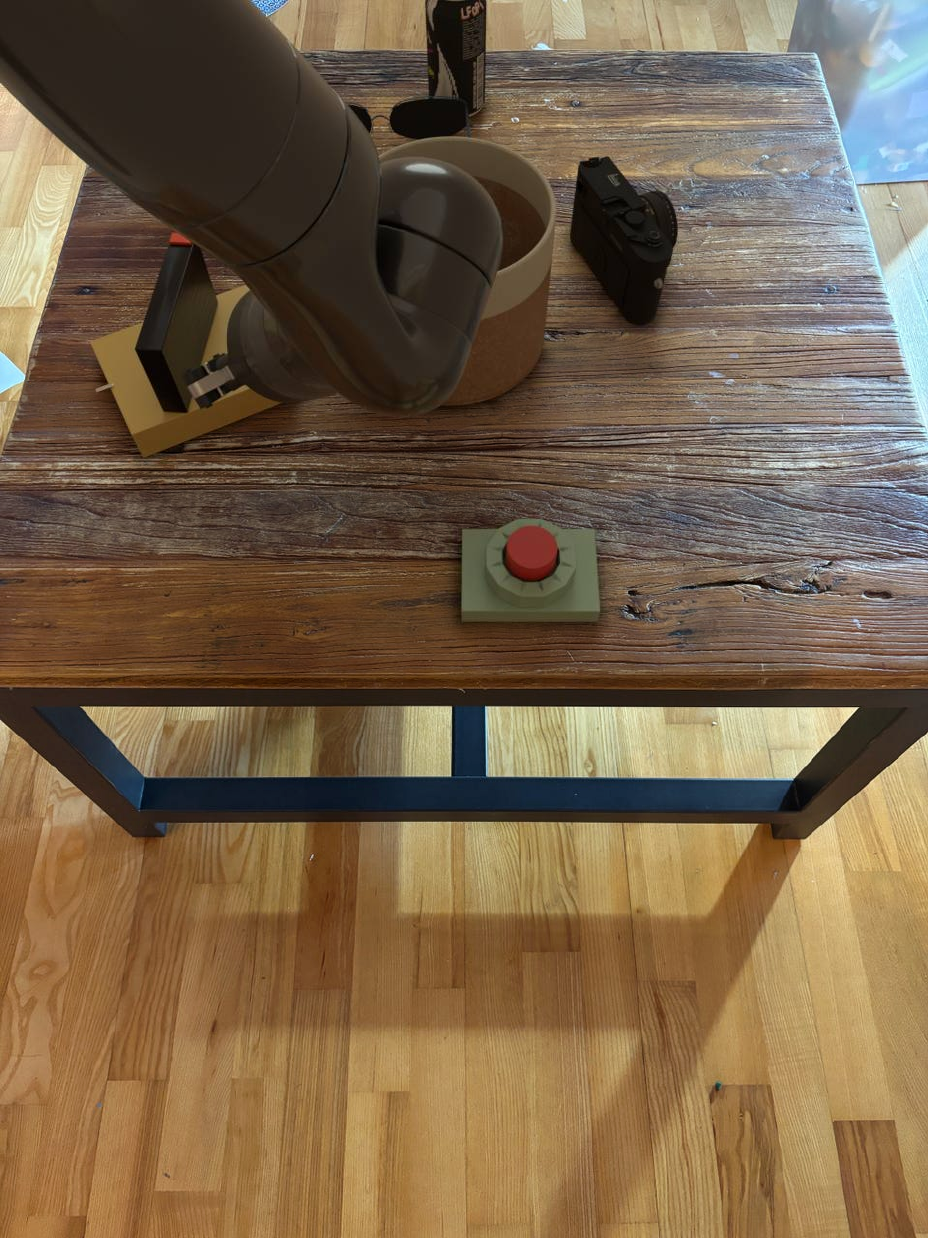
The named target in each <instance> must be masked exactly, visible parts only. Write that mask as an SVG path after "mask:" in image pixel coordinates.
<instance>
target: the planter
mask: <svg viewBox="0 0 928 1238" xmlns="http://www.w3.org/2000/svg"><path fill="white" fill-rule="evenodd" d="M378 156H379V161H380V163H381V162H384V161H387V160H391V159H394V158H400V157H429V158H435V159H439V160H443V161H446V162H449V163H451V164H454V165H456V166H457V167H459V168H461V169H463V170H464V171H466V172H467V173H469V174H470V175H471V176H473V177H474V178H475V179H476V180H477V181H478V182H479V183H480V184H481V185H482V186H483V187H484V188H485V189H486V191H487V192H488V193H489V195H490V196H491V198H492V199H493V201H494V203H495V205H496V207H497V210H498V212H499V215H500V218H501V222H502V228H503V251H502V256H501V261H500V265H499V268H498V271H497V274H496V277H495V280H494V283H493V286H492V289H491V290H490V295H489V298H488V301H487V304H486V307H485V310H484V312H483V315H482V318H481V321H480V324H479V327H478V330H477V333H476V336H475V339H474V342H473V344H472V347H471V352H470V355H469V358H468V361H467V364H466V367H465V370H464V373H463V375H462V377H461V380H460V382H459V384H458V385H457V387H456V389H455V391H454V392H453V394H452V395H451V396H450V397H449V398H448V399H447V400H446V401H445V402H444V403H443V404H441V405H440V406H466V405H471V404H472V405H473V404H477V403H481V402H485V401H489V400H492V399H494V398H496V397H498V396H501V395H503V394H505V393H507V392H508V391H510V390H512V389H513V388H515V387H516V386H517V385H519V384H520V383H521V382H522V381H523V380H524V379H525V378H526V377H527V376H528V375H529V374H530V373H531V371H533V369H534V368H535V366H536V365H537V363H538V361H539V359H540V357H541V354H542V352H543V349H544V344H545V335H546V325H547V313H548V305H549V294H550V285H551V284H550V283H551V275H552V264H553V263H552V262H553V255H554V254H553V253H554V242H555V231H556V221H557V202H556V196H555V193H554V191H553V188H552V186H551V184H550V182H549V180H548V178H547V177H546V176H545V174H544V173H543V172H542V171H541V170H540V169H539V168H538V167H537V166H536V165H535V164H534V163H533V162H531V160H529V159H528V158H527V157H525V156H523V155H521V154H520V153H518V152H517V151H515V150H513V149H511V148H509V147H506V146H504V145H501V144H499V143H496V142H493V141H489V140H486V139H481V138H476V137H475V138H474V137H471V138H468V137H467V136H449V137H434V138H427V139H421V140H418V139H416V140H413V141H410V142H406V143H403V144H399V145H398V146H395V147H393V148H390V149H389V150H387V151H384V152H383V153H381V154H378Z"/></svg>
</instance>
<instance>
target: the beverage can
mask: <svg viewBox="0 0 928 1238" xmlns="http://www.w3.org/2000/svg"><path fill="white" fill-rule="evenodd" d="M487 6H488V5H487V0H425V1H424V9H425V10H424V11H425V12H424V13H425V34H426V35H425V36H426V62H427V84H428V85H427V86H428V96H447V97H455V98H459V99H461V100H463V101H465V102H466V103H467V104H465V105H466V106H467V107H468V109H469V118H470V117H473V116H475V115H477V113H479V112H481V110H482V109H483V108H484V105H485V103H486V71H487V68H486V67H487V66H486V65H487V58H486V57H487ZM433 98H443V97H431V98H428V99H433ZM443 99H452V98H443ZM454 100H456V99H454ZM458 101H459V100H458Z"/></svg>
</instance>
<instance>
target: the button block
mask: <svg viewBox="0 0 928 1238" xmlns="http://www.w3.org/2000/svg"><path fill="white" fill-rule="evenodd" d="M524 526H539V527H542V528H544V529H546V530H548V531H549V532H550V533H551V534H552V535H553V536H554V538H555V540H556V542H557V547H558V550H557V556H556V562H555V566H554V568H553V570H552V571H551V573H550V574H549V575H547V576H546V577H544V578H542V579H539V580H533V581H530V580H524V579H521V578H519V577H517V576H515V575H514V574H513V573H512V572H511V571H510V570H509V568H508V566H507V563H506V549H507V541H508V539H509V537H510V535H511V534H512V533H513V532H514V531H516V530H517V529H519V528H521V527H524ZM598 573H599V572H598V557H597V543H596V530H595V529H594V528H561V527H560V526H557V525H556V524H553V523H551V522H549V521H547V520H545V519H542V518H518V519H515V520H513V521H511V522H509V523H507V524H505V525H503V526H500V527H499V528H462V529H461V604H460V605H461V622H471V623H472V622H474V623H476V622H481V623H482V622H483V623H486V622H488V623H489V622H492V623H493V622H494V623H495V622H499V623H500V622H503V623H504V622H506V623H507V622H509V623H512V622H515V623H517V622H518V623H519V622H520V623H521V622H522V623H528V622H529V623H531V622H532V623H533V622H535V623H538V622H539V623H540V622H541V623H543V622H544V623H546V622H547V623H550V622H553V623H557V622H558V623H560V622H561V623H570V622H571V623H597V622H598V621H599V617H600V614H601V601H600V587H599V586H600V585H599V574H598Z"/></svg>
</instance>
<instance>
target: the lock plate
mask: <svg viewBox="0 0 928 1238" xmlns="http://www.w3.org/2000/svg"><path fill="white" fill-rule="evenodd" d="M248 291H249V288H248V287H247V286H246V284H243V285H241V286H238V287H235V288H233V289H230V290H227V291H225V292H222V293H219V294H216V297H217V301H218V305H217V308H216V312H215V316H214V319H213V323H212V326H211V330H210V333H209V337H208V341H207V344H206V348H205V351H204V355H203V359H202V362H201V365H202V364H204V363H206V362H208V361H210V360H212V359H213V356H214V355H216V354H218V353H219V355H221V354H223V353H225V354H227V327H228V322H229V318H230V315H231V313H232V311H233V309H234V307H235V305H236V304H237V302H238V301H239V300H240V299H241V298H242V297H243V295H245V294H246V293H247V292H248ZM143 322H144V321H142V322H139V323H137V324H135V325H131V326H129V327H126V328H124V329H120V330H117V331H116V332H113V333H109V334H107V335H104V336H101V337H99V338H97V339H93V340H90V341H89V344H90V346H91V348H92V351H93V352H94V353H93V354H94V355H95V357H96V359H97V361H98V364H99V366H100V368H101V371H102V373H103V375H104V377H105V379H106V381H107V384H105V385H103V386H99V387H97V388H95V393H96V394H100V393H102V392H105V391H107V390H111V393H112V395H113V397H114V400H115V401H116V404H117V406H118V408H119V411H120V413H121V415H122V417H123V419H124V421H125V424H126V426H127V428H128V430H129V433H130V435H131V437H132V439H133V441H134V443H135V444H136V447H137V448H138V450H139V452H140V454H141V456H142V458H143V459H144V458H147V457H149V456H150V457H151V456H152V455H155V454H157V453H160V452H162V451H165V450H167V449H171V448H173V447H175V446H177V445H180V444H183V443H185V442H188V441H190V440H193V439H195V438H197V437H200V436H202V435H205V434H208V433H210V432H212V431H216V430H218V429H220V428H223V427H225V426H228V425H230V424H232V423H235V422H237V421H241V420H242V419H245V418H247V417H250V416H254V415H255V414H258V413H260V412H262V411H266V410H268V409H270V408H273V407H276V406H278V405H280V404H282V403H281V402H276V401H273V400H270V399H267V398H265V397H263V396H261V395H259V394H258V393H256V392H254V391H253V390H251V389H250V388H249V387H247V386H246V385H244V386H242V387H240V388H239V389H237V390H235V391H231V392H229V393H228V394H226V396H224V397H222V398H220V399H218V400H217V401H215V402H214V403H212V404H213V406H211V407H209V408H207V409H206V407H204V408H202V409H200V408H199V406H198V404H197V403H196V401H195V399H194V398H193V396H192V398H191V402H190V405H189V409H188V412H187V413H178V412H164V411H163V410H162V408H161V406H160V403H159V401H158V399H157V397H156V395H155V392H154V390H153V388H152V386H151V384H150V382H149V379H148V377H147V375H146V373H145V371H144V368H143V366H142V364H141V362H140V360H139V357H138V355H137V353H136V351H135V346H136V343H137V340H138V337H139V334H140V331H141V328H142V325H143Z"/></svg>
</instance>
